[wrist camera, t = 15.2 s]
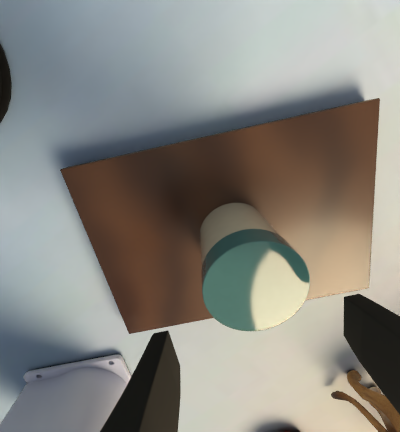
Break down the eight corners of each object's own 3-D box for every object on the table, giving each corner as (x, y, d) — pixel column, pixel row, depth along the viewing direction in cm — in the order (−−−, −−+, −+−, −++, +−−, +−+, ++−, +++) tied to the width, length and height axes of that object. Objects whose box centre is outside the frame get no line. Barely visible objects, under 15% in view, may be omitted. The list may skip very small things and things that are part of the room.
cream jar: (214, 275, 17) (225, 344, 12) (186, 218, 16) (184, 266, 10) (278, 251, 17) (321, 311, 11) (256, 189, 15) (294, 223, 10)
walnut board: (132, 323, 20) (129, 334, 19) (69, 166, 15) (59, 169, 14) (358, 279, 19) (369, 288, 18) (365, 100, 15) (380, 97, 14)
